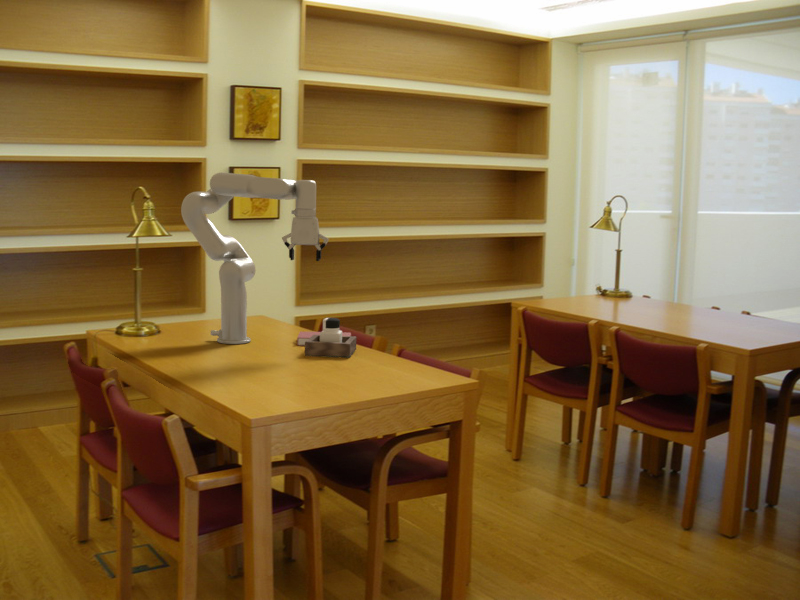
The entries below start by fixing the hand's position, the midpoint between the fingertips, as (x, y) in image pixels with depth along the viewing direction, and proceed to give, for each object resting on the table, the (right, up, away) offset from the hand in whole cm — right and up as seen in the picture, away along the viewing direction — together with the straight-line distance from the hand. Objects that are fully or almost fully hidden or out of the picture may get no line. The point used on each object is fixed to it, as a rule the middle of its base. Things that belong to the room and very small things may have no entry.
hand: (305, 260), depth 309 cm
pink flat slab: (+6, -31, +13) cm, 34 cm away
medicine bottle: (+10, -33, -7) cm, 35 cm away
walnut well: (+10, -34, -7) cm, 36 cm away
